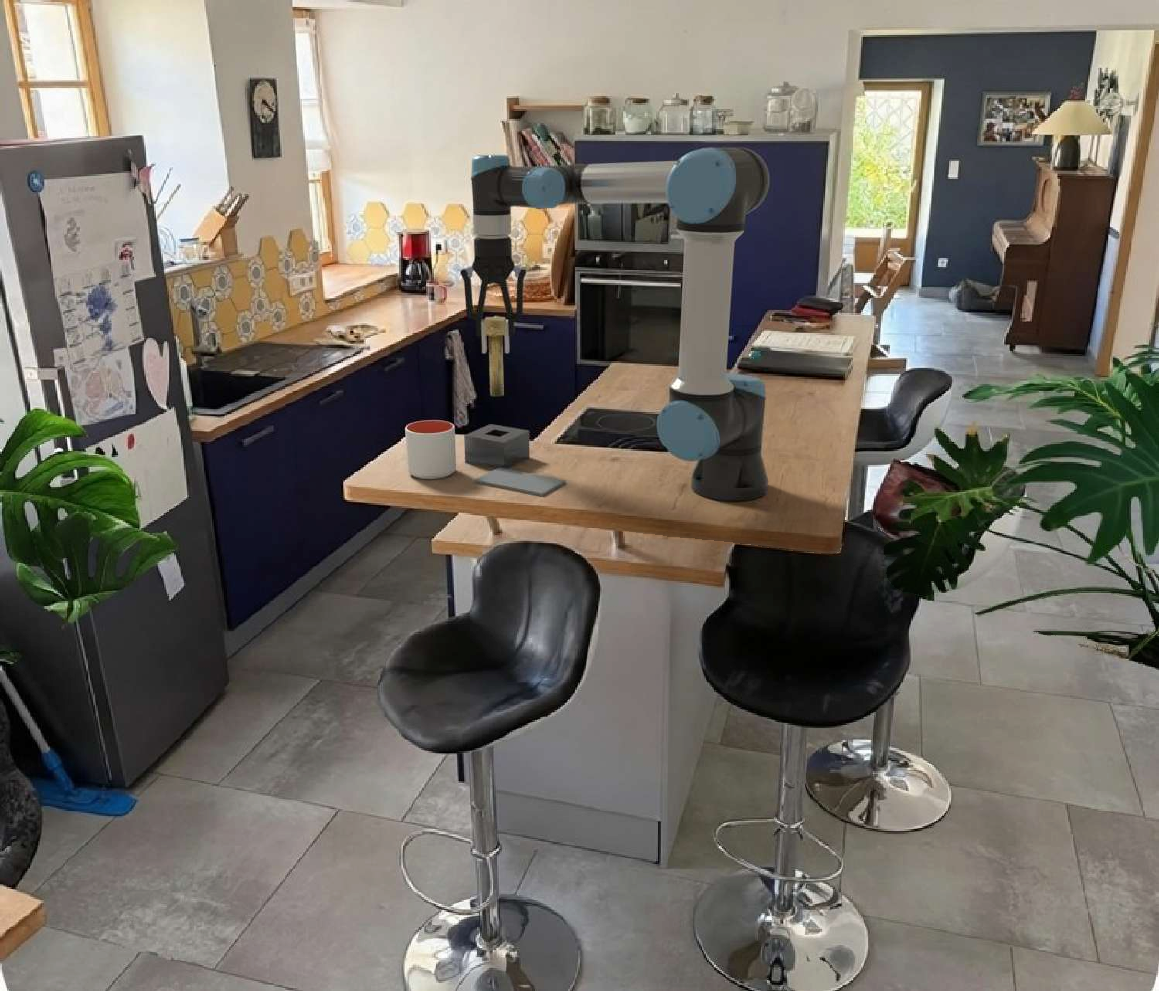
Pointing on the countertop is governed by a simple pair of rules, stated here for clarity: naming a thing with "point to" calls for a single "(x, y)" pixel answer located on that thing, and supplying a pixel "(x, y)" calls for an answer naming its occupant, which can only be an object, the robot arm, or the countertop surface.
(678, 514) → the countertop surface
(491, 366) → the brass ball-end t-bar
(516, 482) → the mat
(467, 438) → the block
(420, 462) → the cup
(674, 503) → the countertop surface
